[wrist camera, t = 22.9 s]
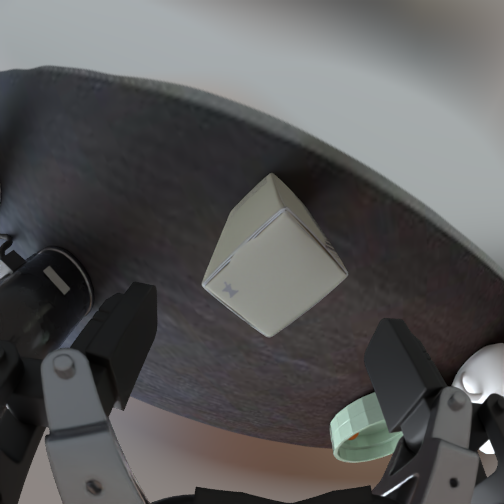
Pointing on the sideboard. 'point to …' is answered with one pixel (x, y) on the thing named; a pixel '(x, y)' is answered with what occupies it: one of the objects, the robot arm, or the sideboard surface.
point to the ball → (354, 436)
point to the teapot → (482, 373)
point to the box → (272, 259)
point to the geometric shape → (487, 448)
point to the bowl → (362, 432)
